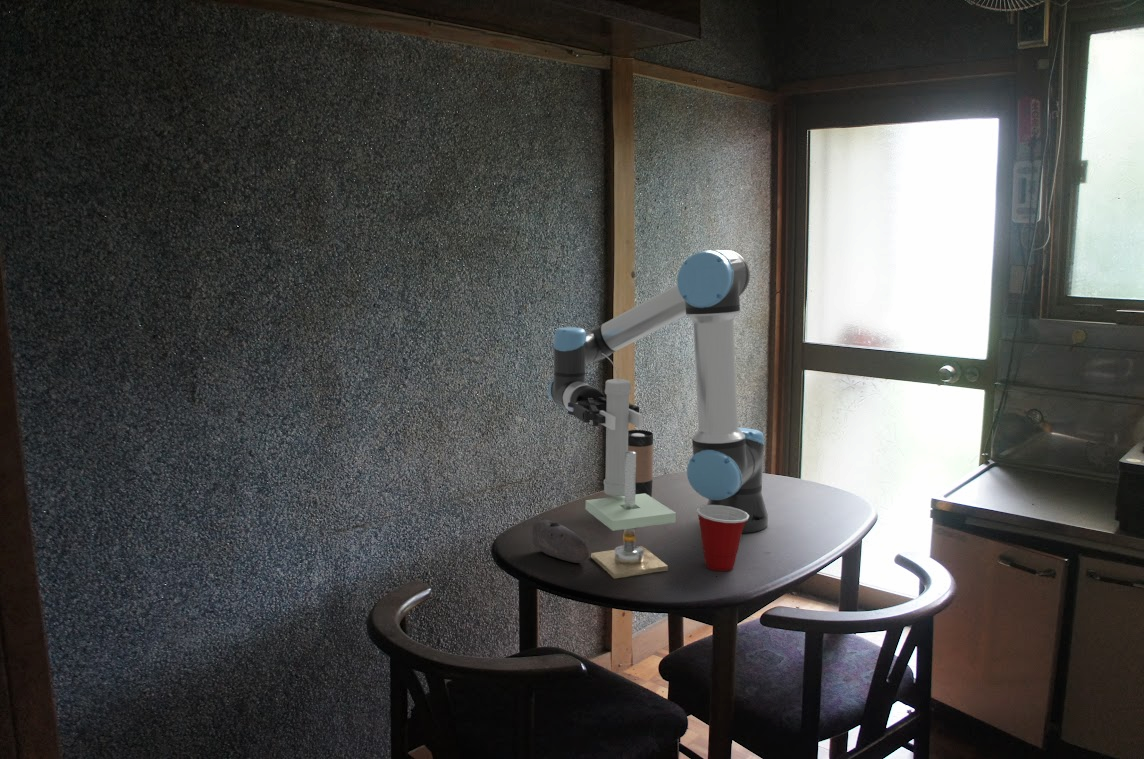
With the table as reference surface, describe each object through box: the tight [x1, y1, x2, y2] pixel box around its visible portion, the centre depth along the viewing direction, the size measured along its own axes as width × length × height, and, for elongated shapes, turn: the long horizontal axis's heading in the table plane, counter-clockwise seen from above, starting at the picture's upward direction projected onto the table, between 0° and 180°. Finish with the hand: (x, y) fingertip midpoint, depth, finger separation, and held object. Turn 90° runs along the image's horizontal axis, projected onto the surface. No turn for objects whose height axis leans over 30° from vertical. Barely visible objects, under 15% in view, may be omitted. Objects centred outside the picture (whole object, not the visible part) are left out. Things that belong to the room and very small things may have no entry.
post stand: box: [590, 451, 669, 579], centre depth 177 cm, size 12×12×24 cm
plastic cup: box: [695, 504, 749, 572], centre depth 177 cm, size 11×11×12 cm
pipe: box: [602, 353, 632, 497], centre depth 180 cm, size 6×6×30 cm
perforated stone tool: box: [531, 519, 590, 564], centre depth 181 cm, size 15×5×7 cm, turn 44°
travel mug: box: [623, 429, 654, 498], centre depth 210 cm, size 8×8×20 cm
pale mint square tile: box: [585, 493, 677, 532], centre depth 177 cm, size 14×14×2 cm
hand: (627, 422), depth 175 cm, fingers closed on pipe, 5 cm apart
